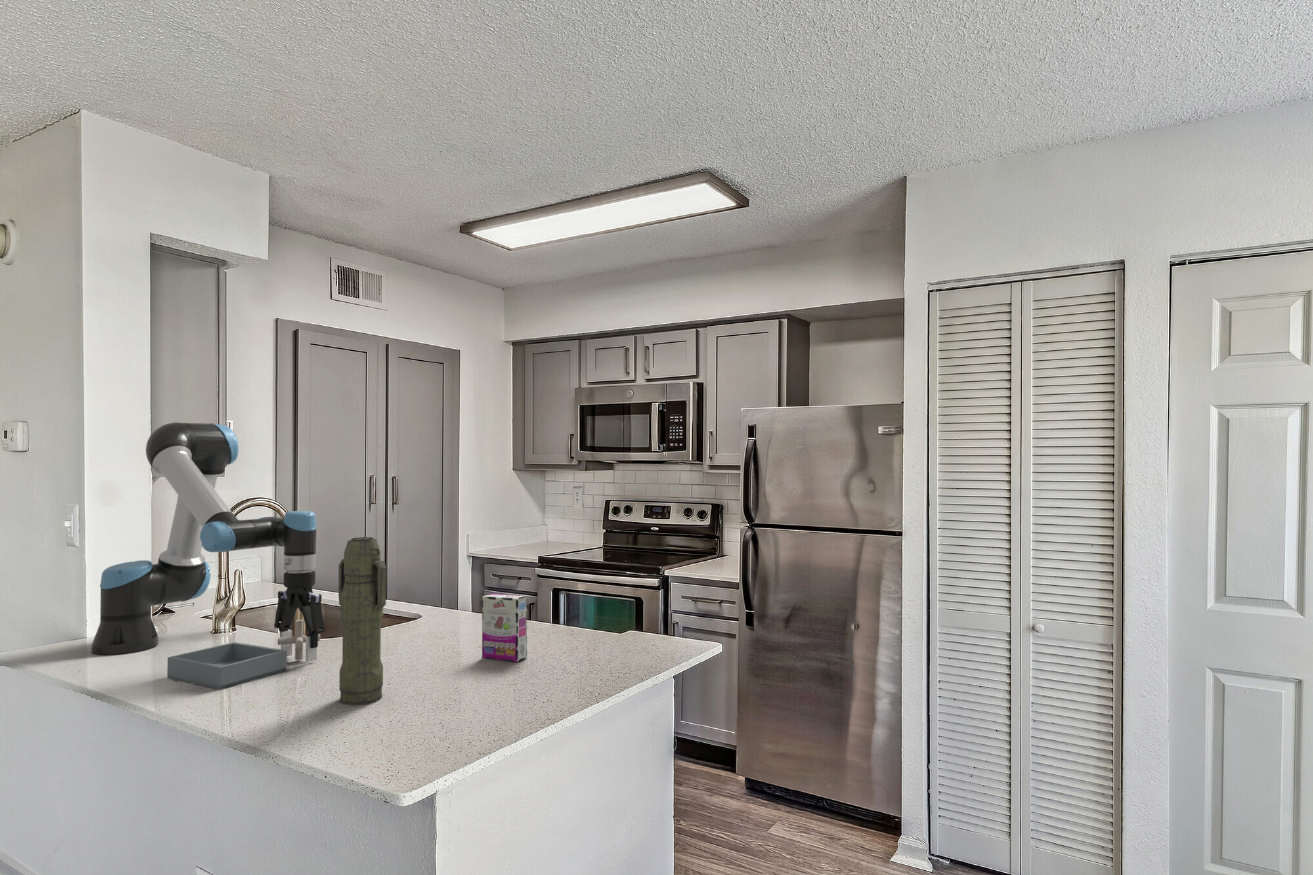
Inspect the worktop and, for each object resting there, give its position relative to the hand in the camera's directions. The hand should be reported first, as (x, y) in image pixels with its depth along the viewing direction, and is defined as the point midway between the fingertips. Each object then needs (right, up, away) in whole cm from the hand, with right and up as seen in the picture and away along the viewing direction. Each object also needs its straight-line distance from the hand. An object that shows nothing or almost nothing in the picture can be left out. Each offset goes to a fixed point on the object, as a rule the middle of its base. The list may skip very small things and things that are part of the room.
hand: (298, 658), depth 198 cm
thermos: (+28, 0, -31) cm, 42 cm away
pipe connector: (0, 0, 0) cm, 1 cm away
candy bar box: (+53, -1, +3) cm, 53 cm away
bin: (-12, 0, -12) cm, 17 cm away
